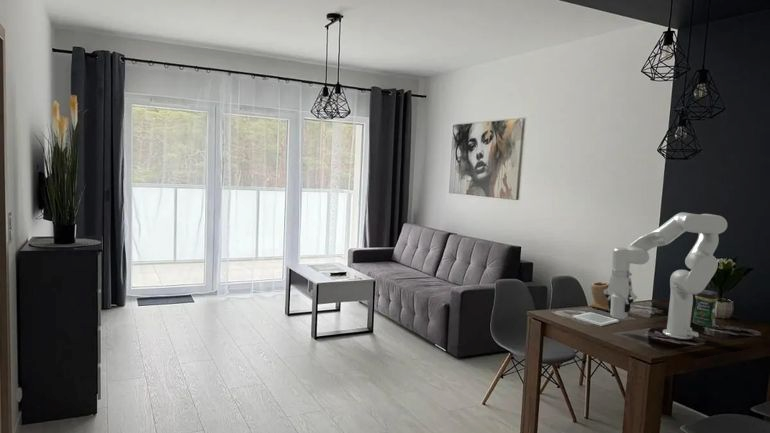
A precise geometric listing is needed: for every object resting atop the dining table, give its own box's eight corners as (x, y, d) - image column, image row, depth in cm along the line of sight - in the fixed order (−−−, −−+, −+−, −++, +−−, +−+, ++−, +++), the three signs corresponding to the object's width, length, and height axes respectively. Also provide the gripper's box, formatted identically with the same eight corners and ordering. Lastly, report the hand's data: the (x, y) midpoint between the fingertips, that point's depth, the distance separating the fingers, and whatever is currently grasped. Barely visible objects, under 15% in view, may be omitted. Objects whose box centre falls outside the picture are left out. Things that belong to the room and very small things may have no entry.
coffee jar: (689, 323, 278) (693, 288, 276) (696, 321, 283) (700, 287, 281) (710, 328, 270) (714, 292, 268) (716, 326, 275) (720, 291, 273)
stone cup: (584, 306, 302) (586, 280, 300) (597, 304, 308) (599, 279, 307) (608, 313, 289) (610, 286, 288) (621, 311, 296) (623, 285, 294)
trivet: (618, 321, 273) (618, 319, 273) (601, 326, 264) (601, 323, 264) (590, 314, 286) (590, 312, 286) (572, 317, 276) (573, 315, 276)
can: (624, 315, 259) (625, 290, 258) (629, 319, 251) (630, 294, 250) (608, 314, 259) (609, 290, 258) (613, 319, 252) (614, 294, 251)
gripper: (642, 275, 249) (640, 312, 250) (607, 270, 263) (606, 305, 264) (634, 277, 244) (632, 315, 246) (599, 271, 258) (597, 307, 260)
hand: (619, 309), depth 255 cm, fingers closed on can, 7 cm apart
